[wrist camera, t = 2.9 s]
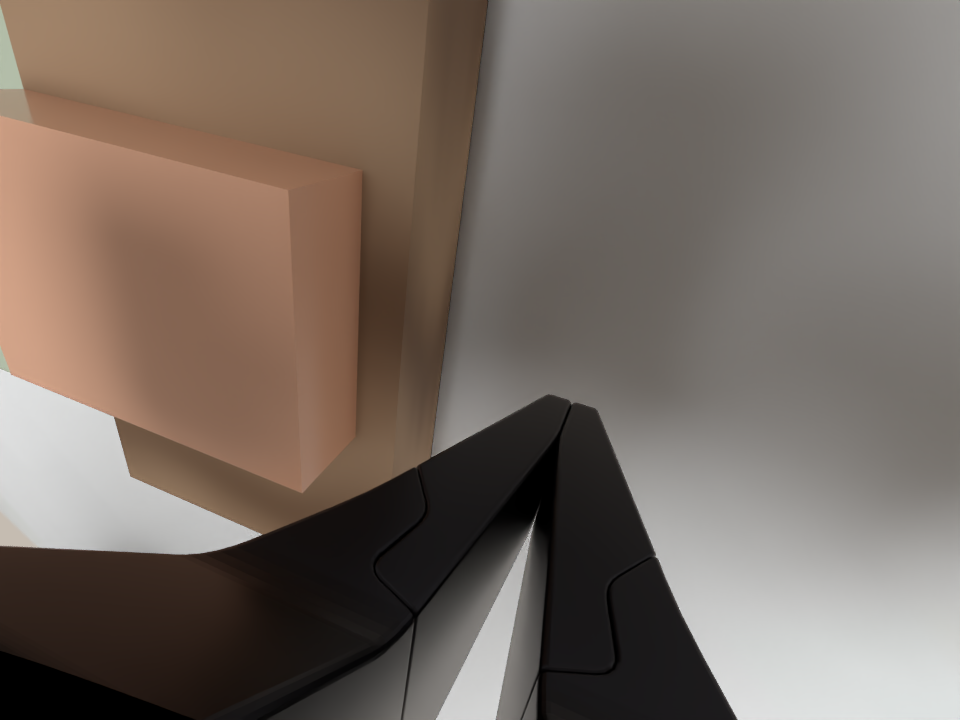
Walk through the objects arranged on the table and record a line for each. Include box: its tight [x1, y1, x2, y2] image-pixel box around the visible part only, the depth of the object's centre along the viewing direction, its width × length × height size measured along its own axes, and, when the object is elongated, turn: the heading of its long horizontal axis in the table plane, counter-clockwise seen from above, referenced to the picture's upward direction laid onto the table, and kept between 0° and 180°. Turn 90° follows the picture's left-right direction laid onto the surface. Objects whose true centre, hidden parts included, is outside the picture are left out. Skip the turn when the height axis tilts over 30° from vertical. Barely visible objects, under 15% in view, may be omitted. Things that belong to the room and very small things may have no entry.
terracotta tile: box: [0, 89, 363, 493], centre depth 11 cm, size 6×8×2 cm
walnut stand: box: [0, 0, 488, 534], centre depth 12 cm, size 16×9×2 cm, turn 171°
